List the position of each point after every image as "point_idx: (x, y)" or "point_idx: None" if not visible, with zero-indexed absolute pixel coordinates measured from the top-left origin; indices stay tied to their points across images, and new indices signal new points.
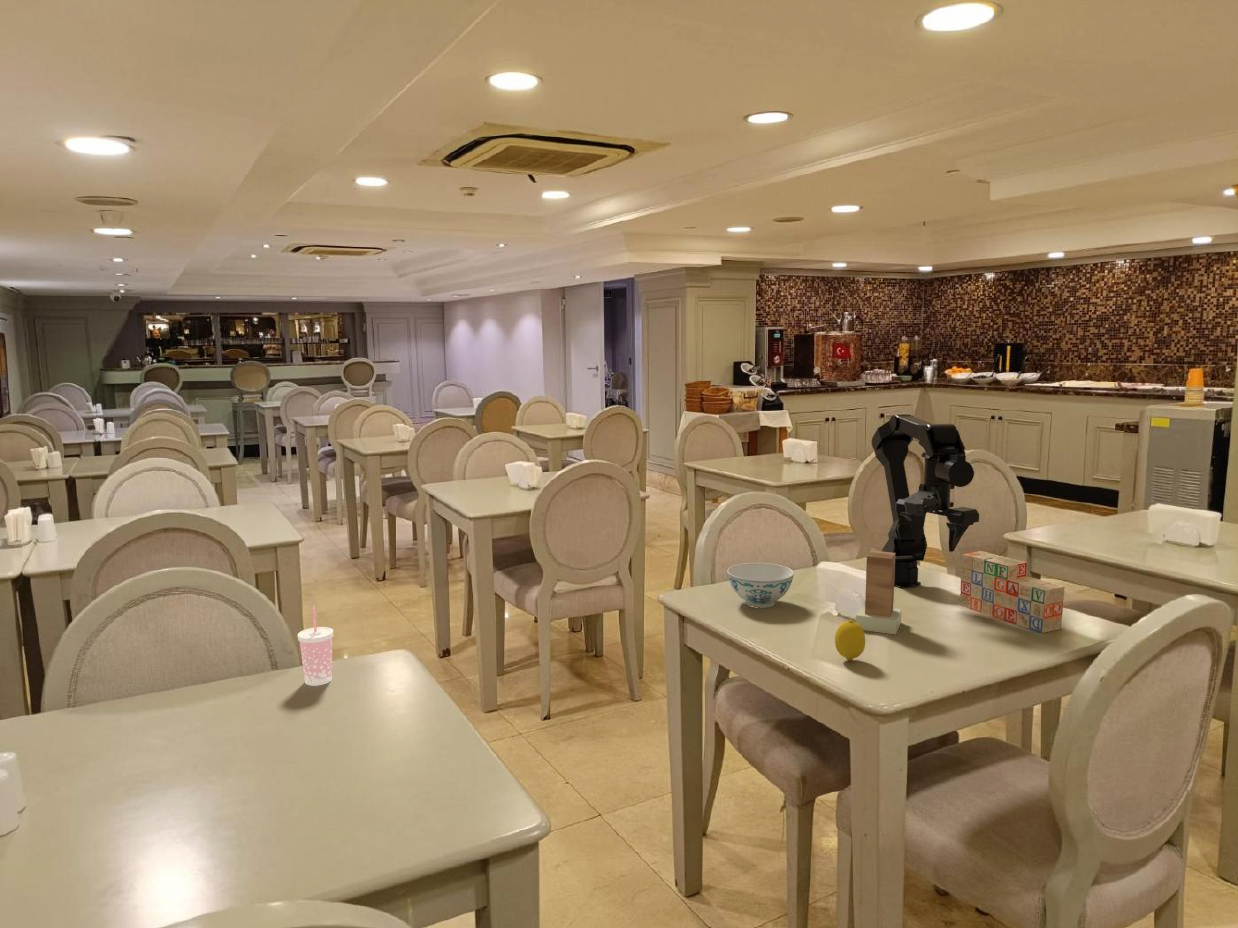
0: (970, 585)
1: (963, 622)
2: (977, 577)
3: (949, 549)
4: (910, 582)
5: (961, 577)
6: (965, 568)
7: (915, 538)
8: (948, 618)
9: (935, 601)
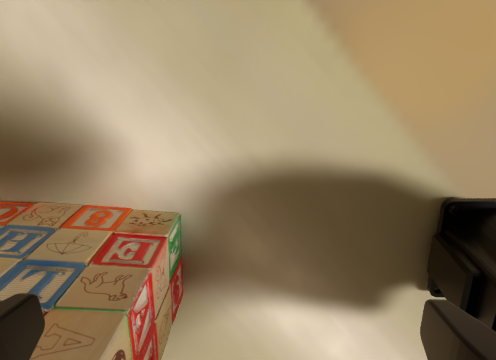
0: (98, 257)
1: (14, 57)
2: (33, 285)
3: (13, 301)
4: (438, 239)
5: (140, 275)
6: (95, 309)
7: (473, 328)
8: (72, 45)
9: (256, 176)
